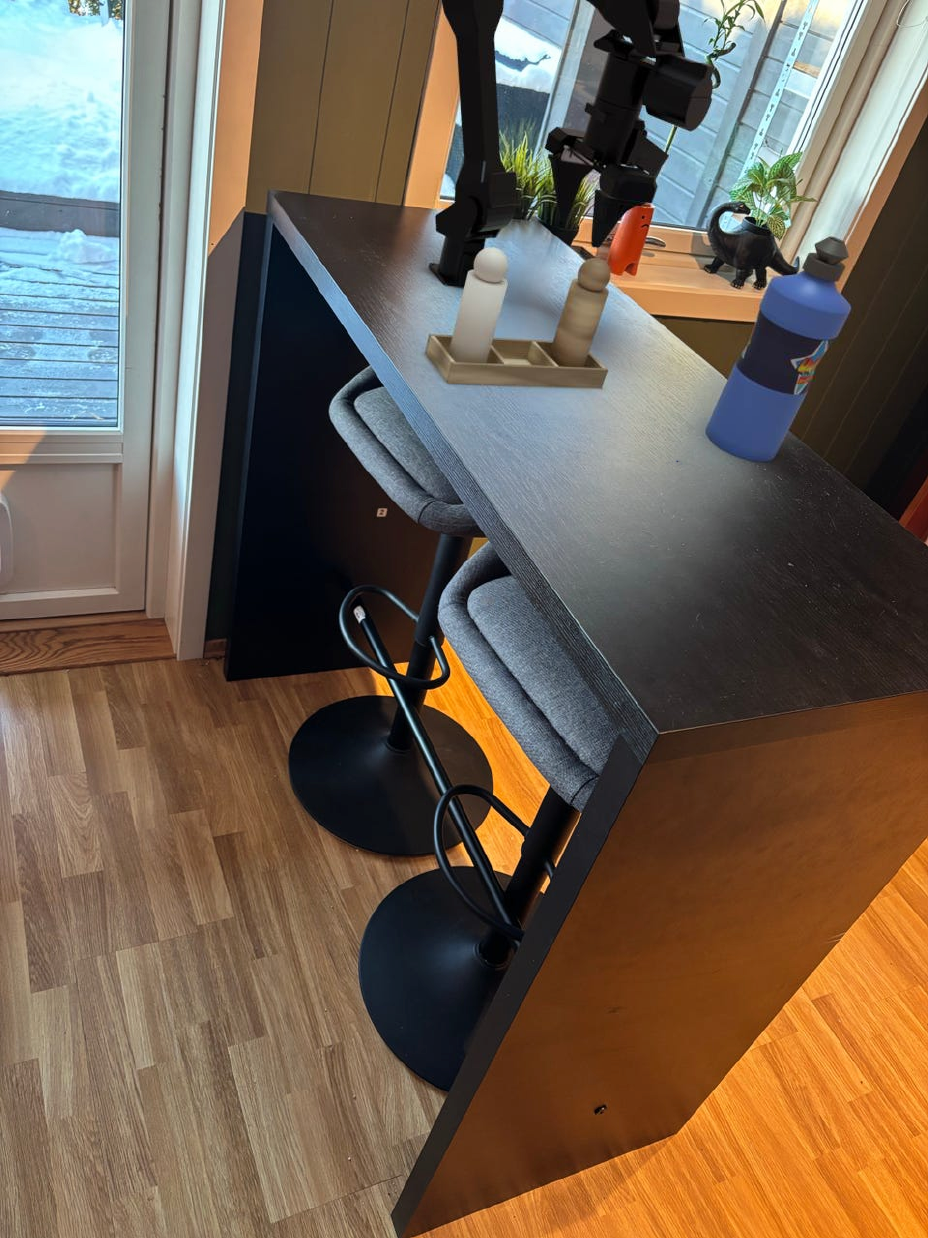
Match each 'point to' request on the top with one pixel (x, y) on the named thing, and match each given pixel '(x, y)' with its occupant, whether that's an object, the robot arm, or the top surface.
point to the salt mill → (480, 307)
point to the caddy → (514, 365)
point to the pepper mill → (581, 314)
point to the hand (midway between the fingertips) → (578, 232)
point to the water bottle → (781, 356)
